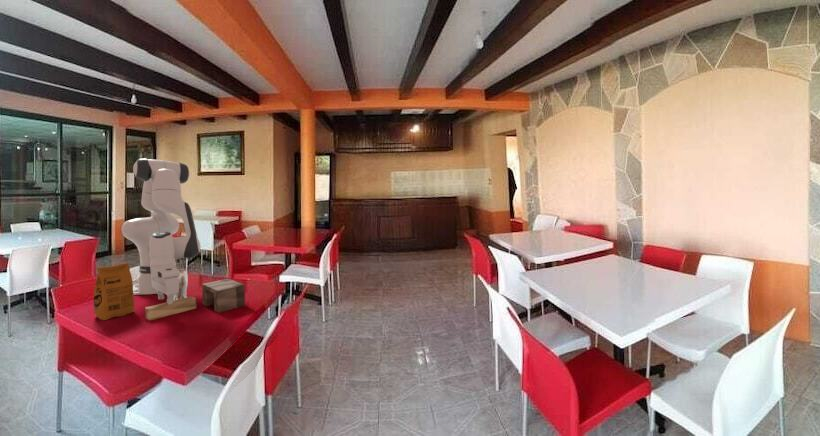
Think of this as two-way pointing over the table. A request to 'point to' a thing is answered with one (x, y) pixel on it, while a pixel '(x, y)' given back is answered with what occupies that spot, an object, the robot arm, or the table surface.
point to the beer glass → (182, 285)
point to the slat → (170, 308)
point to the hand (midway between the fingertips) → (165, 301)
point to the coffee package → (113, 292)
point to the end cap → (223, 294)
